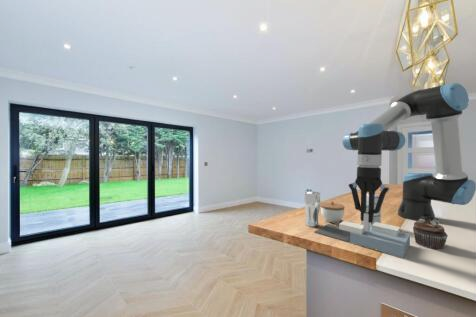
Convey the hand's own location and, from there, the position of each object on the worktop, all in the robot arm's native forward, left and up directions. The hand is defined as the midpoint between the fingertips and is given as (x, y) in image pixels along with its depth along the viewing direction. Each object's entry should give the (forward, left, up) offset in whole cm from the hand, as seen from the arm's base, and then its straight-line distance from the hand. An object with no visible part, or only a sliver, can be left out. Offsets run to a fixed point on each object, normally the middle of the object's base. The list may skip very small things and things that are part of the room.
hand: (366, 230), depth 81 cm
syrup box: (-25, -4, -5) cm, 26 cm away
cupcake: (-17, +17, -5) cm, 24 cm away
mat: (-4, -11, -5) cm, 13 cm away
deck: (-4, +4, -5) cm, 7 cm away
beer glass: (-5, -23, -5) cm, 24 cm away
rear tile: (-8, +5, -1) cm, 9 cm away
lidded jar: (-18, -19, -5) cm, 27 cm away
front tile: (0, -5, -1) cm, 5 cm away
